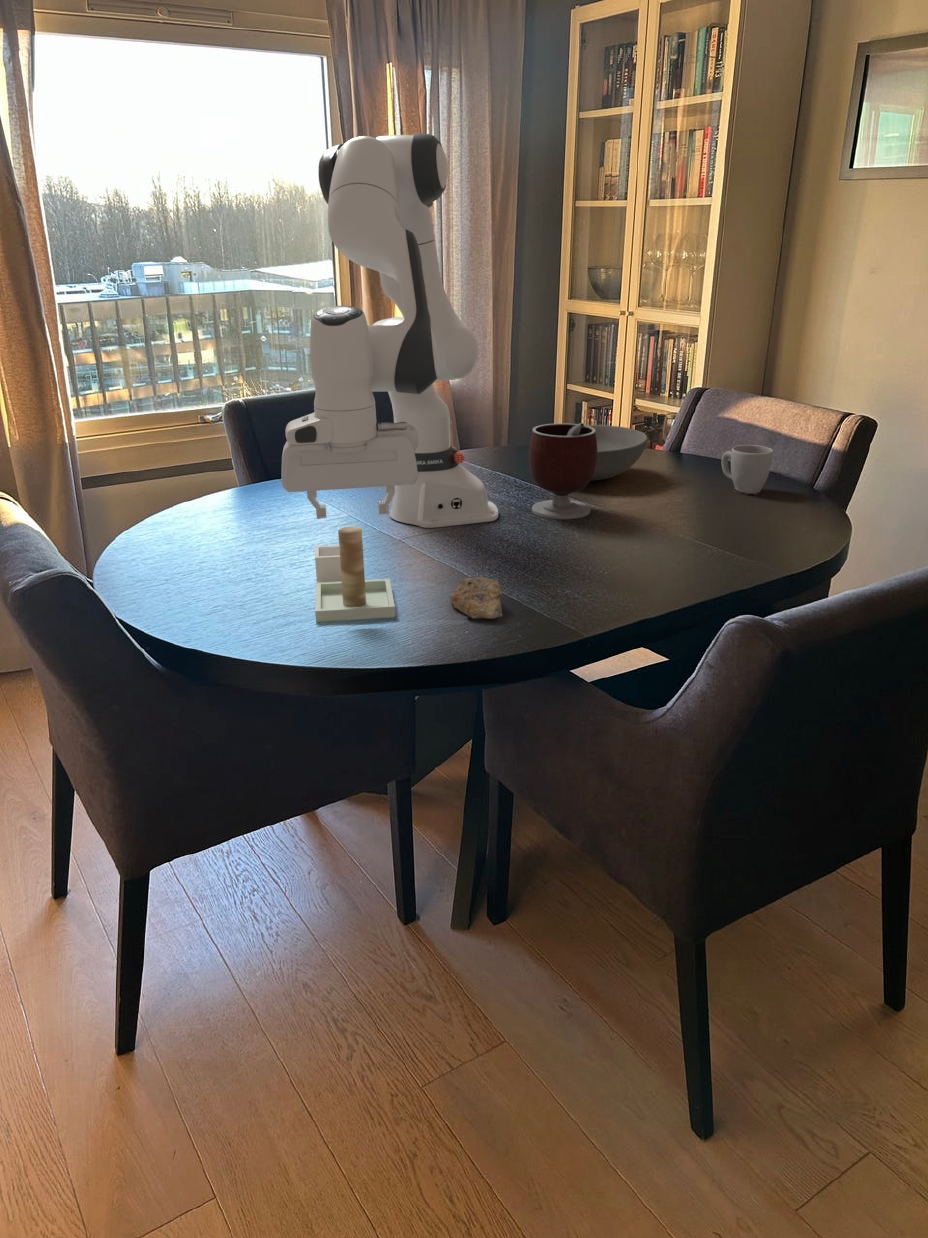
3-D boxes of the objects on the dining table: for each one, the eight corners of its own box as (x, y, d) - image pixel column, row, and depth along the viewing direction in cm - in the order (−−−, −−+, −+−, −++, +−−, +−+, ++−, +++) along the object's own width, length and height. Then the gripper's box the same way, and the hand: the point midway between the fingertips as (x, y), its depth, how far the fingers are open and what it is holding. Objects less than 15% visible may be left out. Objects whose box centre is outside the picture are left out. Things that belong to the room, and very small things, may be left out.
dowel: (365, 597, 147) (361, 526, 142) (366, 606, 143) (362, 533, 138) (342, 599, 146) (337, 527, 141) (343, 608, 143) (338, 534, 138)
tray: (390, 591, 151) (389, 578, 150) (395, 620, 140) (394, 606, 139) (316, 595, 150) (315, 582, 149) (316, 625, 139) (315, 611, 138)
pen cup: (351, 574, 158) (349, 544, 156) (352, 587, 153) (350, 555, 151) (317, 576, 158) (315, 546, 156) (317, 588, 152) (315, 557, 150)
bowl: (653, 491, 206) (657, 447, 203) (536, 491, 207) (537, 447, 203) (635, 463, 231) (637, 423, 227) (530, 463, 231) (531, 423, 227)
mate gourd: (518, 504, 197) (520, 411, 189) (577, 498, 201) (581, 407, 193) (546, 525, 184) (549, 425, 176) (608, 518, 188) (614, 420, 180)
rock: (449, 599, 149) (444, 611, 139) (458, 564, 148) (454, 575, 138) (501, 613, 149) (499, 627, 139) (510, 579, 148) (510, 590, 138)
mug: (776, 492, 205) (781, 449, 202) (752, 499, 200) (757, 455, 197) (731, 481, 214) (736, 440, 210) (707, 487, 209) (712, 445, 205)
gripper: (414, 416, 138) (418, 504, 143) (277, 423, 135) (286, 513, 141) (419, 425, 132) (423, 517, 138) (275, 433, 129) (285, 526, 135)
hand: (353, 515), depth 139 cm, fingers open, 8 cm apart
